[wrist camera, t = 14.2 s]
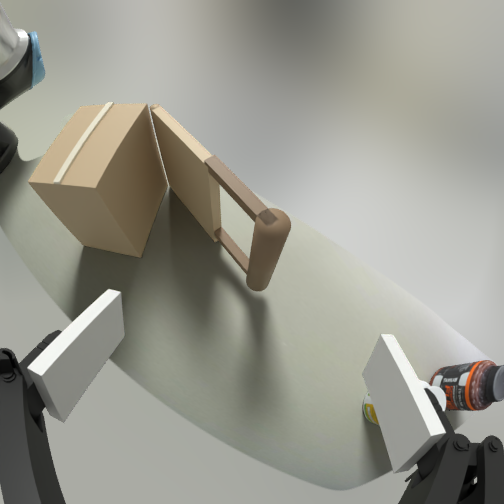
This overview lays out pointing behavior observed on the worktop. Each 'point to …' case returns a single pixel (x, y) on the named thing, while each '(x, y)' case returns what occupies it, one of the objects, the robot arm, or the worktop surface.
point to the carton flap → (208, 198)
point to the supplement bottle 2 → (470, 385)
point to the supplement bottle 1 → (437, 391)
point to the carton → (104, 177)
